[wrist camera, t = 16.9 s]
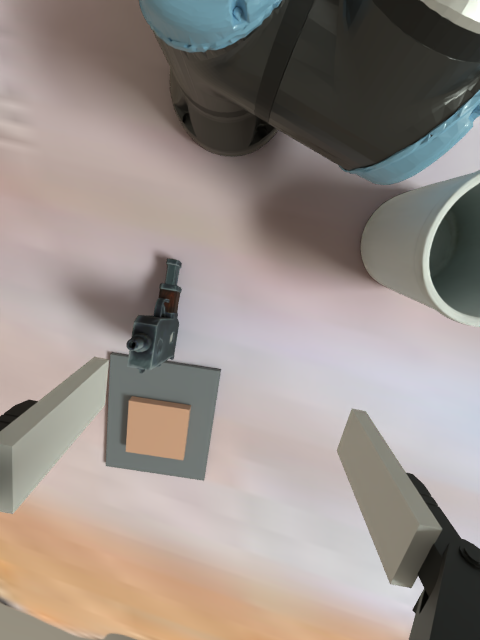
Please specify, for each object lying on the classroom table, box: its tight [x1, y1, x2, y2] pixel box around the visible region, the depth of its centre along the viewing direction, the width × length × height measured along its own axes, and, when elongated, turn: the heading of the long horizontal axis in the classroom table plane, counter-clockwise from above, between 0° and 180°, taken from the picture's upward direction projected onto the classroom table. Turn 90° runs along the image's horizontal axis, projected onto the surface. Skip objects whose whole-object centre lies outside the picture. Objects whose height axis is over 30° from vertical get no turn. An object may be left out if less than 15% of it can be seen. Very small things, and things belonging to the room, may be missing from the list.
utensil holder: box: [361, 170, 480, 327], centre depth 35 cm, size 15×15×18 cm
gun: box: [127, 259, 182, 374], centre depth 39 cm, size 3×17×15 cm
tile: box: [126, 396, 191, 460], centre depth 51 cm, size 2×10×10 cm
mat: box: [106, 353, 221, 480], centre depth 52 cm, size 22×18×1 cm
